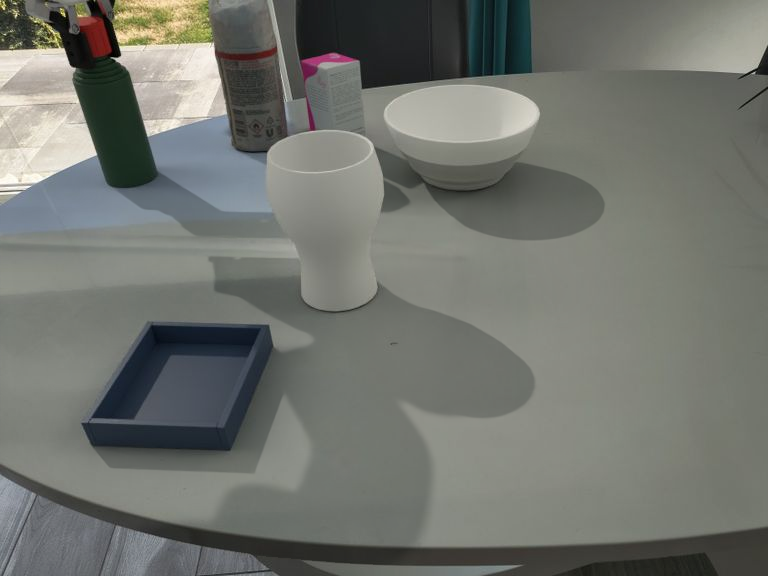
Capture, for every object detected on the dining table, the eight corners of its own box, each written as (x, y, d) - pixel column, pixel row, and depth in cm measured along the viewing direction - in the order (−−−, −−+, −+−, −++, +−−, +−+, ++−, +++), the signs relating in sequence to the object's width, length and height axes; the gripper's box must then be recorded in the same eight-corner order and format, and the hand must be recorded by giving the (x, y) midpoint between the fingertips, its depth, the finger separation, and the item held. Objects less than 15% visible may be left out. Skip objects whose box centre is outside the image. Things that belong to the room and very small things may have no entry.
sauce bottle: (97, 187, 93) (44, 34, 82) (118, 165, 98) (71, 19, 87) (146, 188, 93) (100, 35, 81) (165, 166, 98) (124, 19, 86)
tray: (90, 445, 58) (80, 422, 56) (154, 342, 68) (147, 320, 66) (230, 450, 57) (224, 427, 56) (273, 346, 68) (269, 324, 66)
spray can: (301, 133, 107) (279, -17, 94) (277, 156, 100) (250, -2, 88) (248, 128, 108) (219, -21, 96) (221, 150, 102) (186, -5, 89)
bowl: (558, 159, 99) (563, 98, 94) (496, 221, 86) (498, 154, 81) (434, 133, 106) (432, 76, 101) (358, 187, 93) (352, 124, 88)
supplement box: (368, 142, 104) (360, 59, 97) (334, 155, 101) (324, 70, 93) (343, 131, 107) (334, 50, 100) (309, 143, 104) (298, 60, 97)
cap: (118, 51, 86) (109, 19, 84) (88, 60, 84) (79, 27, 81) (98, 45, 88) (88, 14, 86) (68, 54, 85) (57, 22, 83)
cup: (375, 326, 70) (360, 180, 60) (270, 314, 71) (240, 171, 62) (403, 267, 78) (393, 131, 69) (308, 258, 80) (286, 124, 70)
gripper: (5, -110, 68) (72, 88, 79) (124, -130, 80) (167, 45, 92) (-57, -113, 70) (17, 81, 81) (68, -132, 82) (117, 39, 93)
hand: (96, 60), depth 86 cm, fingers closed on cap, 3 cm apart
